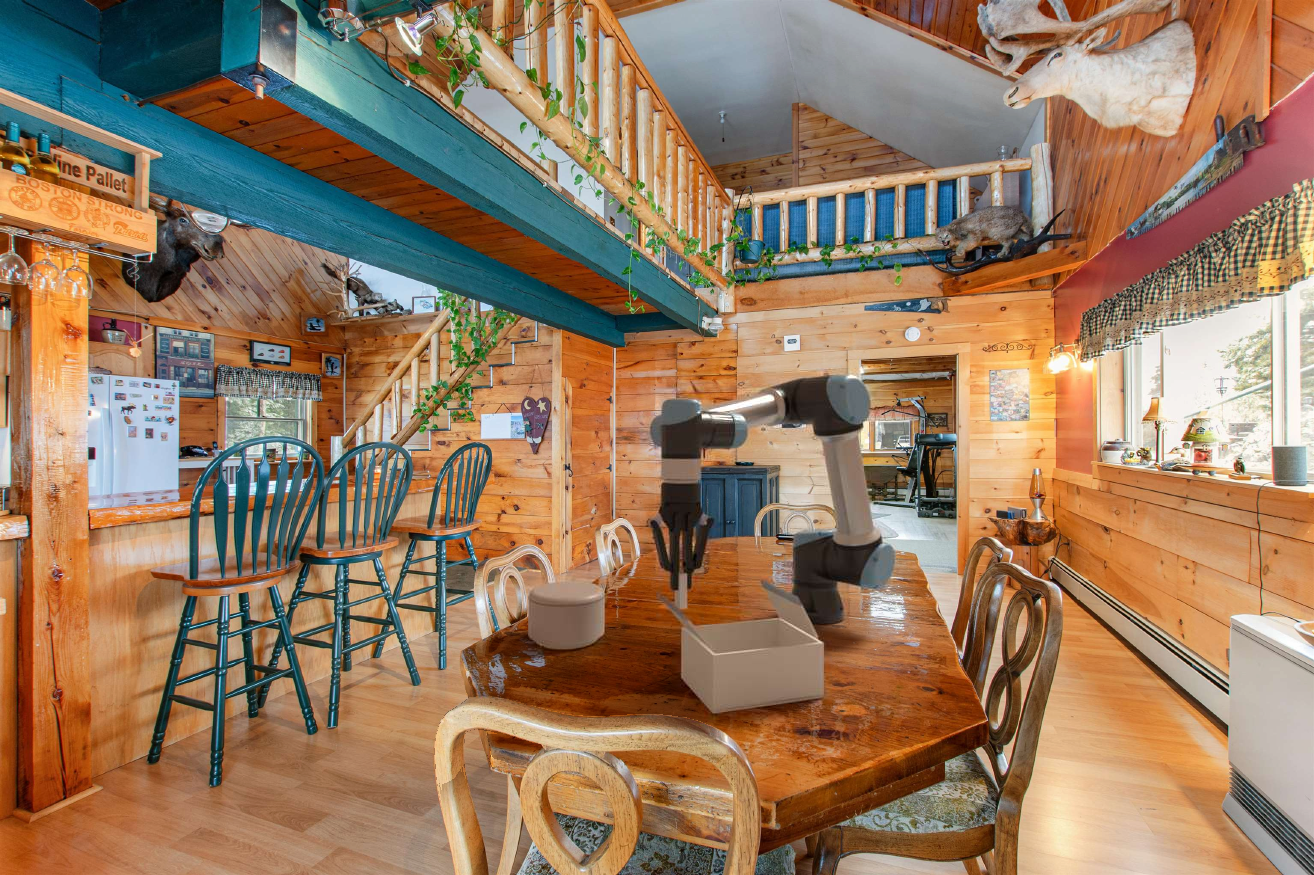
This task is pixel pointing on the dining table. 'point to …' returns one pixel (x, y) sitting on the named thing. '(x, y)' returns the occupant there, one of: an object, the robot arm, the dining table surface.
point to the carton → (752, 664)
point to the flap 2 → (789, 608)
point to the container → (566, 614)
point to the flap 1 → (685, 621)
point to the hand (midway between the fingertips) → (680, 606)
